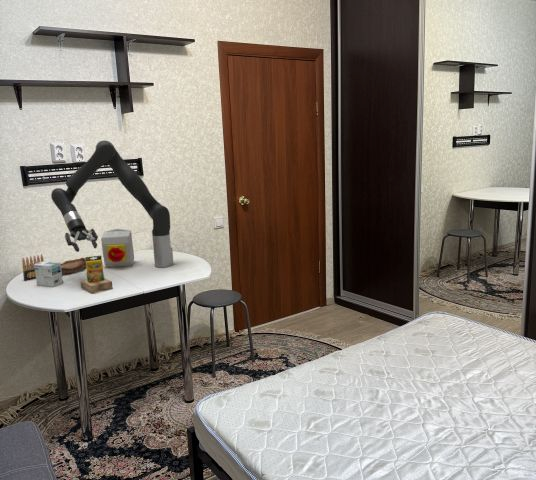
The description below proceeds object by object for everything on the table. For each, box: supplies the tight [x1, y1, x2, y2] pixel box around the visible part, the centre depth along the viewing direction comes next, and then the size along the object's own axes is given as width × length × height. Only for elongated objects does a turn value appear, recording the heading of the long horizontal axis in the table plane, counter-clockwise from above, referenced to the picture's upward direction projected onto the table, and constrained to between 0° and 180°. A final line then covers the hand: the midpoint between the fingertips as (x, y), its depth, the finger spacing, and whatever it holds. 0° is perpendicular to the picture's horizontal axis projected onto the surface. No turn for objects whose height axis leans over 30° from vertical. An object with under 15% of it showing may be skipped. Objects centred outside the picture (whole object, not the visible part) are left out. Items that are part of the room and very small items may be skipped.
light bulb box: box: [33, 260, 64, 288], centre depth 243 cm, size 11×7×11 cm, turn 71°
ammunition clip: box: [21, 254, 45, 282], centre depth 253 cm, size 11×2×12 cm, turn 131°
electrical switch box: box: [100, 228, 135, 268], centre depth 271 cm, size 15×15×20 cm
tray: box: [79, 277, 113, 295], centre depth 235 cm, size 10×12×4 cm
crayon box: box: [84, 255, 105, 282], centre depth 234 cm, size 7×3×12 cm, turn 114°
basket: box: [61, 257, 86, 276], centre depth 268 cm, size 22×20×5 cm
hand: (87, 249), depth 236 cm, fingers open, 8 cm apart
